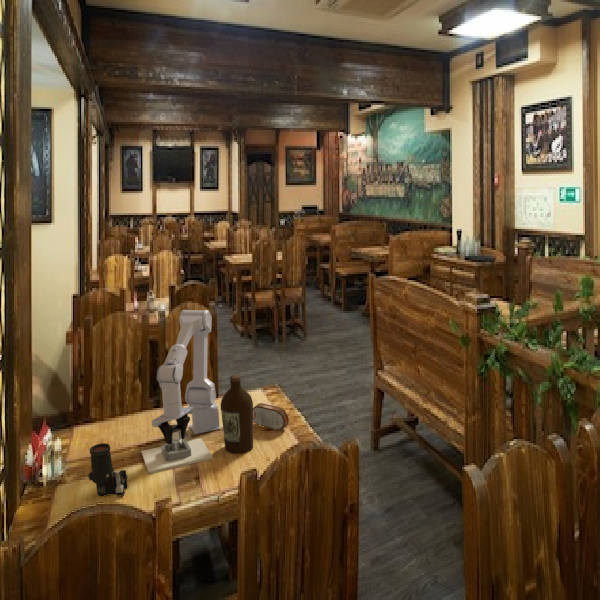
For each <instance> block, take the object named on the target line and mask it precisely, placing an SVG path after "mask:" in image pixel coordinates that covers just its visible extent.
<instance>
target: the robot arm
mask: <svg viewBox="0 0 600 600" xmlns="http://www.w3.org/2000/svg"><path fill="white" fill-rule="evenodd" d="M212 317H213V316H212V314H211V312H210V310H209V309H204V310H199V309H193V310H192V309H183V310H181V311H180V314H179V317H178V319H179V326H180V329H179V332H178V336H177V338H176V342H175V344H173V345H171V346H170V349H169V350H168V353H167V356H166V358H165V361H164V363H163V364H162V365H160V366H159V367H158V368H157V371H156V372H157V373H156V379H157V381H158V383H159V387H160V389H161V393H162V394H161V397H162V409H163V414H160V415H159V416H158V417H156V418H154V419H152V420H151V426H152V427H153V428H159V430H160V432H161V433H162V436H163V438H164V441H165V444H169V445H170V444H171V429H172V426H171V425H172V424H170V423H169V422H171V421H176V425H180V426H181V436H182V440H185V436H186V430H187V427H188V425H189V427H190V429H191V431H192V432H193V434H194V435H198V434H203V433H207V432H212V431H216V430H221V427H220V426H221V425H220V413H219V411H220V410H219V407H218V404H217V402H216V398H217V393H216V386H215V383H214V382H212V381H211V380H210V379H209V378H208V347H209V346H208V345H209V344H208V336H209V335H208V334H210V333H212V325H213V324H212V323H213V320H212V319H213V318H212ZM192 336H193V366H192V367H193V369H192V370H193V371H192V374H193V375H192V380H190V381H189V382H188V383H187V384H186V391H185V395H184V400H185V402H186V403H187V404H188V405H189V406H187V407H182V394H181V381H182V379H183V373H184V363H185V360H186V358H187V355H188V349H187V347H188V345H189V343H190V341H191V339H192ZM188 415H191V417H190V416H188ZM190 421H191V423H192V424H189V423H190Z"/></svg>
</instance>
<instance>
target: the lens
mask: <svg viewBox="0 0 600 600" xmlns="http://www.w3.org/2000/svg"><path fill="white" fill-rule="evenodd" d="M170 425H171V426H172V429H171V444H170V445H169V444H168V447H169V450H171V451H176V450H180V449H181V448H182V447H183V446H182V441H183V439H182V436H181V426H180V425H177V424H170Z"/></svg>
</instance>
